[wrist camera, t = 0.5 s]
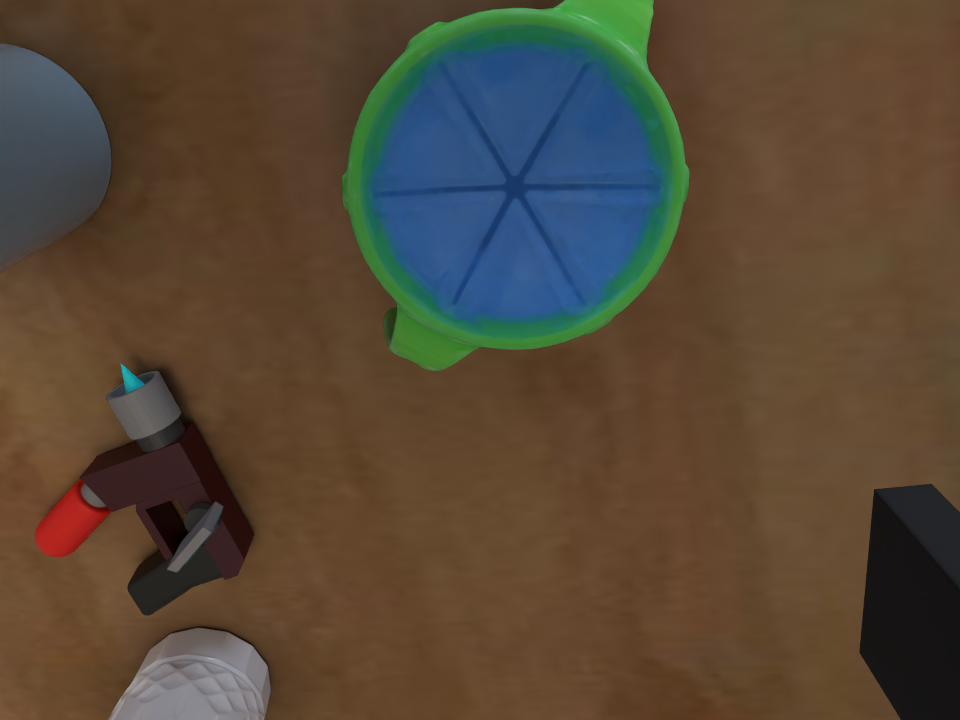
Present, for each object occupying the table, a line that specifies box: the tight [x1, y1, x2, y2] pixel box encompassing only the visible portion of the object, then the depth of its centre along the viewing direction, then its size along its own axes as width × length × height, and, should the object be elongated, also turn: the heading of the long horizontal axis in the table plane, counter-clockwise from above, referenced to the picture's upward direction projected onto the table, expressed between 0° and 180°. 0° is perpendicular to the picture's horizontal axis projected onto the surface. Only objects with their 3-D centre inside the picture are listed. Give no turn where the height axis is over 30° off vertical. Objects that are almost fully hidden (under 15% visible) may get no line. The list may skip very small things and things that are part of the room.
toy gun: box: [35, 364, 254, 616], centre depth 39 cm, size 10×12×5 cm
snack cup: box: [342, 0, 689, 371], centre depth 31 cm, size 16×10×10 cm
